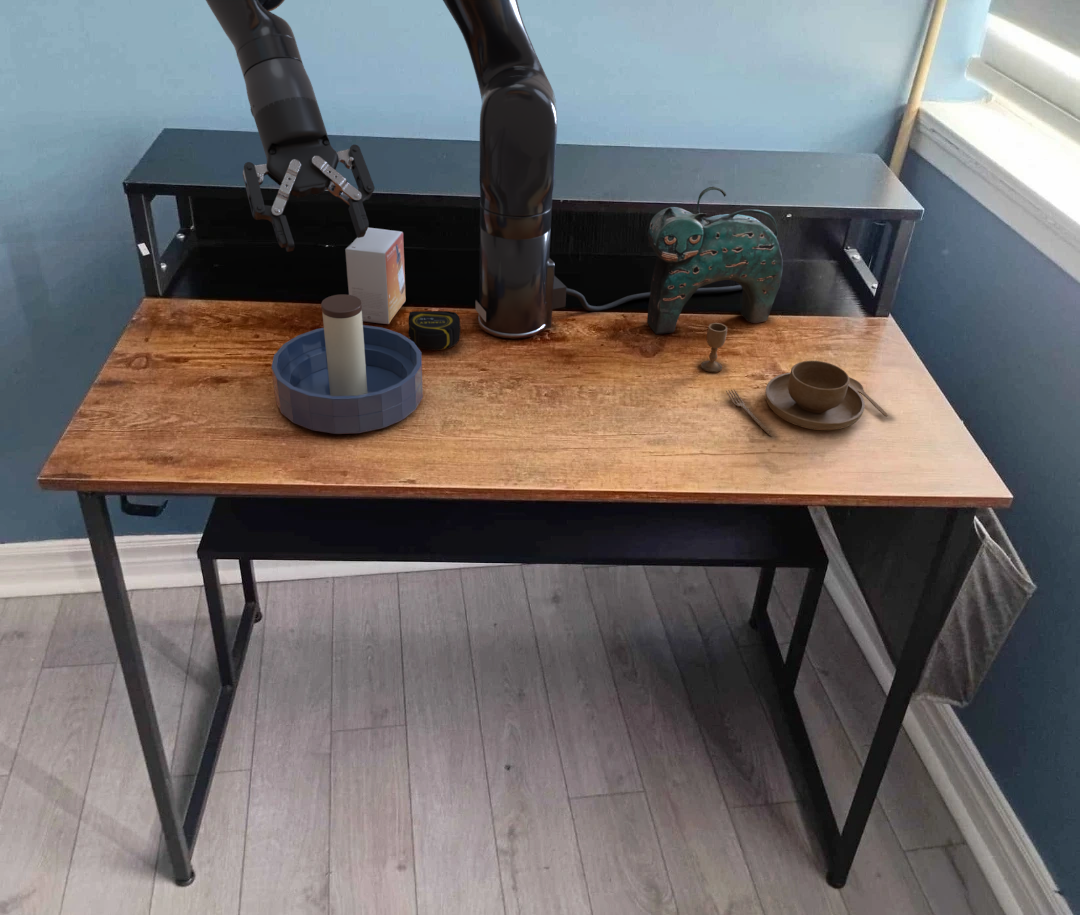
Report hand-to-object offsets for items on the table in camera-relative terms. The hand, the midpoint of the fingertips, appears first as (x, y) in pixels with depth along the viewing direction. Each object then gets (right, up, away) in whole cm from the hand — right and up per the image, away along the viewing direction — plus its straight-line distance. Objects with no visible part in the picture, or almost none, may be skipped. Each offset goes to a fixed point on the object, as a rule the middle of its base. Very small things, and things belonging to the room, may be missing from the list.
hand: (327, 242), depth 114 cm
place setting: (+57, -17, +10) cm, 60 cm away
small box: (+2, -5, +23) cm, 24 cm away
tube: (+2, -17, +4) cm, 18 cm away
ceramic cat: (+48, -6, +24) cm, 54 cm away
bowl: (+2, -18, +4) cm, 19 cm away
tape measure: (+10, -10, +17) cm, 22 cm away
